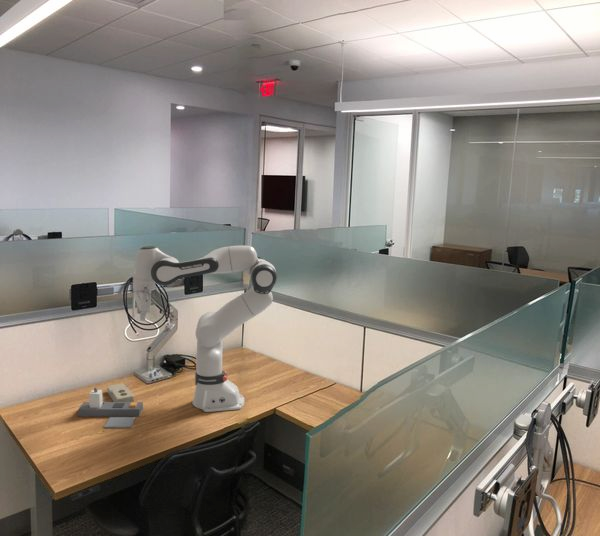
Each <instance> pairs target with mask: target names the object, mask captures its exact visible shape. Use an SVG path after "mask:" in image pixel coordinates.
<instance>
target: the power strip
mask: <svg viewBox="0 0 600 536" xmlns="http://www.w3.org/2000/svg"><path fill="white" fill-rule="evenodd" d="M143 410H144V402H143V401H134V402H113V401H103V406H102V407H101V408H90V404H89V401H83V402H82V404H81V405H80V407H78V409H77V414H78V417H140V415H141V413H142V411H143Z"/></svg>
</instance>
